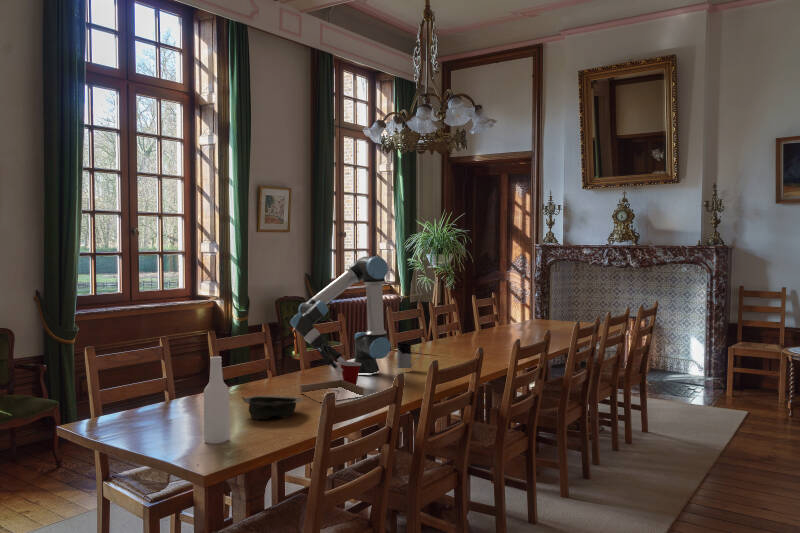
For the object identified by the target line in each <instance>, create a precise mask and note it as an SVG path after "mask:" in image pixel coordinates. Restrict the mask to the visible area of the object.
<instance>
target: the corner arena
mask: <svg viewBox="0 0 800 533" xmlns="http://www.w3.org/2000/svg"><path fill="white" fill-rule="evenodd" d="M338 387H342V388H344V389H346V390H349V391H351V392H354V393H356V394H359V395H364V393H365V392H364V387H363V386H360V385H358V384H357V385H355V384H352V383H349V382H347V381H344V380H343V379H337V380H329V381H323V382H321V381H320V382H315V383H314V382H313V383H307V384H306V383H305V384H300V387H299V388H300V389H299V393H300V392H301V393H302V392H309V391H315V390H321V389H328V388H338ZM334 391H336V392H337V395H338V394H339V393H340V391H339V390H331V392H334ZM327 393H330V392H328V391H327ZM327 393H326V394H327ZM334 393H335V392H334ZM326 394H324V396H325V395H326ZM335 394H336V393H335ZM337 395H336V397H337ZM322 396H323V395H322ZM336 399H337V398H336ZM322 401H323V399H322Z"/></svg>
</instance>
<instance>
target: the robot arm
mask: <svg viewBox="0 0 800 533" xmlns="http://www.w3.org/2000/svg"><path fill="white" fill-rule="evenodd" d="M345 270H346V271H345V272H344V273H342V274H341V275H340V276H339V277H337V278H336V279H334V280H333V281H332V282H330V283H329V284H328V285H327V286H325V287H324V288H323V289H322V290H320V291H319V292H318V293H317V294H316V295H314V296H313V297H311V298H310V299H309V300H307V301H306V302H302V303H301V304H300V305H299V306H298V310H297V311H298V312H297V314H295V315H293V317H291V319H290V321H289V324H290V325H291V327H292V328H294V331H296V332H297V333H298V334H299V335H300V336H301V337H302V338H303V339H304V341H305V342H307V343H308V344H310V346H311V348H313V350H316V351H317V352H318V353H319V354H320V357H322V359H323V360H324V362H325V363H326V365H327V366H330V367H332V368H333V370H335V372H337V374H339V375H341V374H342V371H343V369H342V368H341V365H340V362H347V361H346V360H345V359H344V358H343V357H342V353H341V352H339V351H338V350H336V349H335V348H334V347H333V346H332V345H330V344H329V343H328V342H326V343H325V341H326V337H324V336H323V335H322V334H321V333H320V331H319V330H317V329H316V328H315V327H314V325H315V324H316V323H318V321H320V320H321V319H322V318H323V317H324V316H326V314H327V313H328V312H329V308H328V306H327V304H329V303H331V301H333V300H335V299H336V298H337V297H338V296H339V295H341V294H342V293H343V292H344V291H346V290H347V289H348V288H349V287H351V286H352V285H354V284H355V283H357V284H358V283H359V282H361V280H362V282H363V284H364V285H365V288H366V289H365V290H366V291H365V293H366V314H367V315H366V318H367V319H366V320H367V330H366V331H362V332H355V334H354V361H353V362H357V363H361V366H360V369H359V373H374V372H377V371H379V372H380V367H379V364H378V361H377V360H378V359H379V360H380V359H384V358H386V357H388V355H389V354H390V352H391V348H392V344H391V342H390V339H388V332H387V331H386V330H385V327H384V326H385V325H384V300H383V299H384V296H383V285H384V283H385V282H386V276H387V274H388V272H389V271H388V270H389V266H388V263H387V262H386V260H385V259H383V258H382V257H380V256H376V255H375V256H363V257H360V258H359V259H357V260H356V261H355V262H353V263H352V264H351V265H349V267H347V268H346V269H345ZM332 357H333V358H334V359H336V360H334V359H333V358H332ZM336 361H337V362H338V363H339V364H338V363H337V362H336Z"/></svg>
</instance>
